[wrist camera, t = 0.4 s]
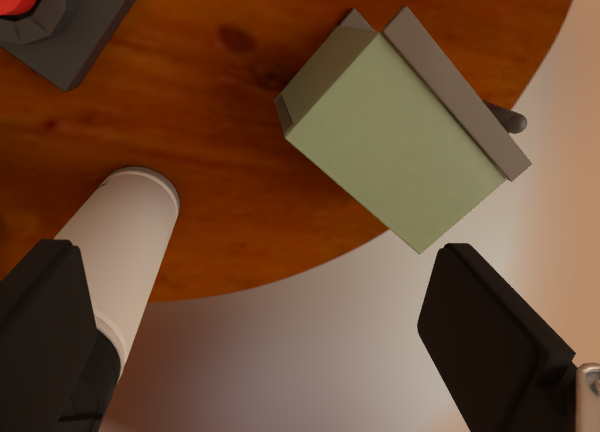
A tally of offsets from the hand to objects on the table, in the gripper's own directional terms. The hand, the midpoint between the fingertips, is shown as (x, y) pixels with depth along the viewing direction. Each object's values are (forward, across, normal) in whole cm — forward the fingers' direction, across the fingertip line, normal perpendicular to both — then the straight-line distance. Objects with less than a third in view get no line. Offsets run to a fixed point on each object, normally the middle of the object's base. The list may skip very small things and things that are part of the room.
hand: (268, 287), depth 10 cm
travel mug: (+22, +9, +8) cm, 25 cm away
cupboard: (+22, -8, 0) cm, 23 cm away
